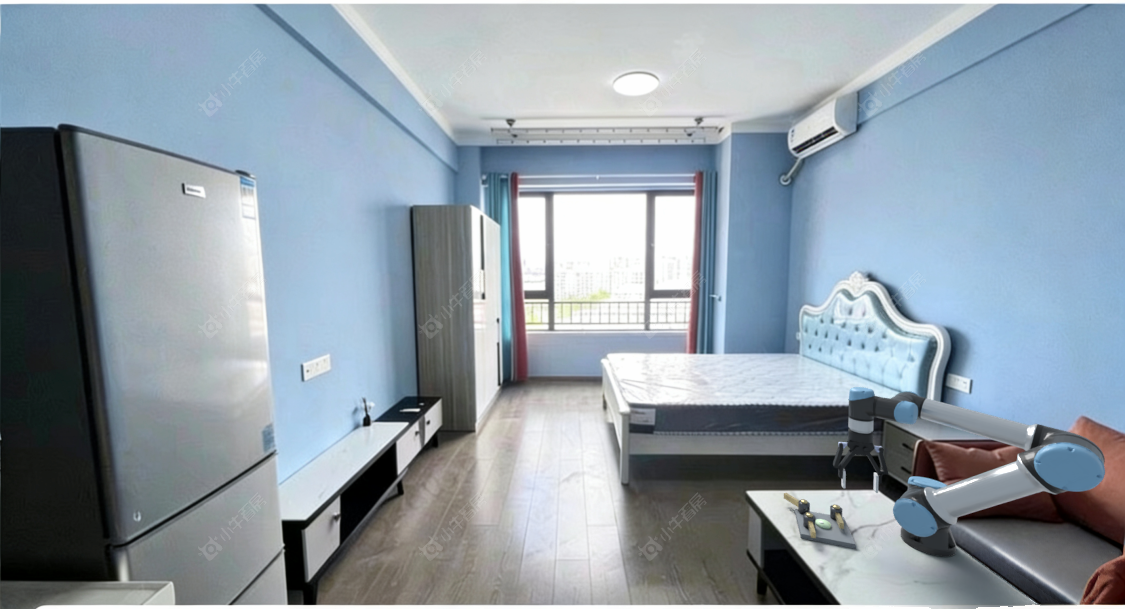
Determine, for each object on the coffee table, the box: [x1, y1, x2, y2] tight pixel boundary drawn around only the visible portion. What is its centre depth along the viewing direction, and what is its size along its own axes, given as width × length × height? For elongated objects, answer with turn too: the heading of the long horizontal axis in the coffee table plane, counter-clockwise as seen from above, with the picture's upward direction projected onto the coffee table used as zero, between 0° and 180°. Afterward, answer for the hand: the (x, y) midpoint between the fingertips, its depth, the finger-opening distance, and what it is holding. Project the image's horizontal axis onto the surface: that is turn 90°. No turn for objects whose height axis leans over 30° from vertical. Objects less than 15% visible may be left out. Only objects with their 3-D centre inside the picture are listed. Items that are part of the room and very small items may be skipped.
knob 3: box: [829, 503, 844, 529], centre depth 160 cm, size 12×4×5 cm, turn 157°
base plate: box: [794, 508, 857, 549], centre depth 160 cm, size 17×18×3 cm
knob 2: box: [803, 512, 816, 538], centre depth 155 cm, size 12×4×5 cm, turn 157°
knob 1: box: [783, 492, 811, 514], centre depth 172 cm, size 12×4×5 cm, turn 17°
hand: (859, 488), depth 155 cm, fingers open, 9 cm apart
